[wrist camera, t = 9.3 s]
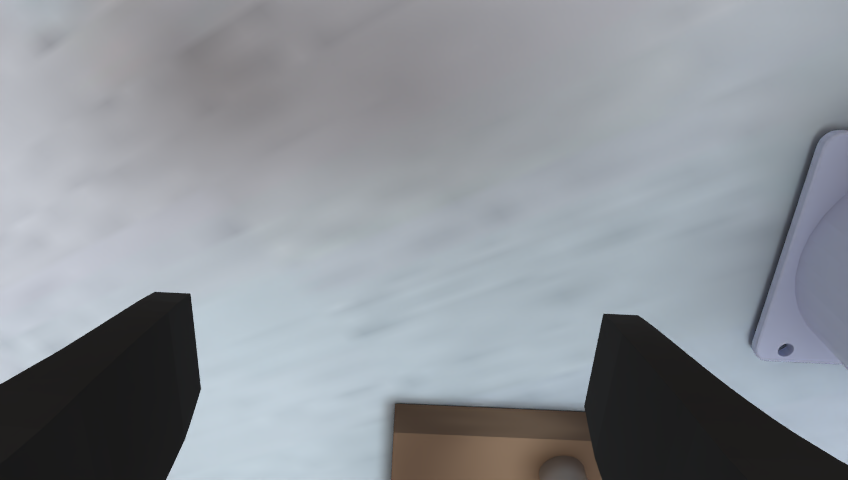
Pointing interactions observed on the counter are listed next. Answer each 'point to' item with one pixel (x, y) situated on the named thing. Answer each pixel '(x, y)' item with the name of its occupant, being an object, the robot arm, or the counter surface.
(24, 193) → the counter surface
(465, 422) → the gear board
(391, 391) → the counter surface
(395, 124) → the counter surface
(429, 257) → the counter surface
